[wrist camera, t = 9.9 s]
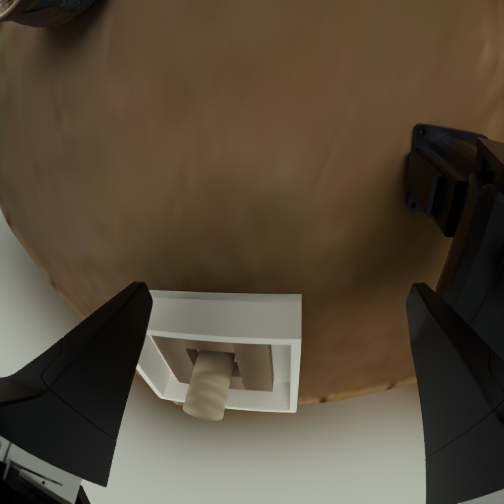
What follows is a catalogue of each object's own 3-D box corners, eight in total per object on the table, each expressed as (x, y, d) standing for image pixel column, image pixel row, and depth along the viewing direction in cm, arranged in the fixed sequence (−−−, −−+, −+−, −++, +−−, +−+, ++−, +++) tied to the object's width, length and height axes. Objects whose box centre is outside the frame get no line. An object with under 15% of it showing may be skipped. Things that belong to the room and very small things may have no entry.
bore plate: (268, 316, 26) (266, 333, 25) (273, 377, 33) (272, 391, 32) (151, 310, 28) (145, 325, 27) (182, 369, 35) (179, 382, 34)
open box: (301, 293, 25) (301, 339, 21) (297, 378, 35) (296, 412, 31) (125, 288, 28) (105, 323, 24) (169, 368, 38) (159, 398, 34)
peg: (233, 339, 29) (218, 408, 23) (238, 359, 32) (226, 422, 25) (196, 337, 30) (177, 402, 24) (205, 357, 32) (189, 417, 26)
